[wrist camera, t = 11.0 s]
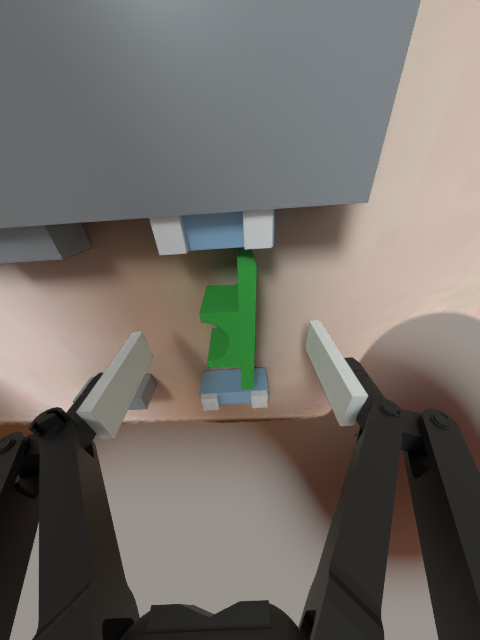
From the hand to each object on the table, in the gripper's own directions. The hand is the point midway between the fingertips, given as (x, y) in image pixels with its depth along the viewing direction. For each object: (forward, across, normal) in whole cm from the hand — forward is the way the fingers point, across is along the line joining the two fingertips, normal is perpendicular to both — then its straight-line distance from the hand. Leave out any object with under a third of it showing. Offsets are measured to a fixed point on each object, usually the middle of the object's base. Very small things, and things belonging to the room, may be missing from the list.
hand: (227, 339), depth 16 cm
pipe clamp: (+4, 0, +1) cm, 4 cm away
